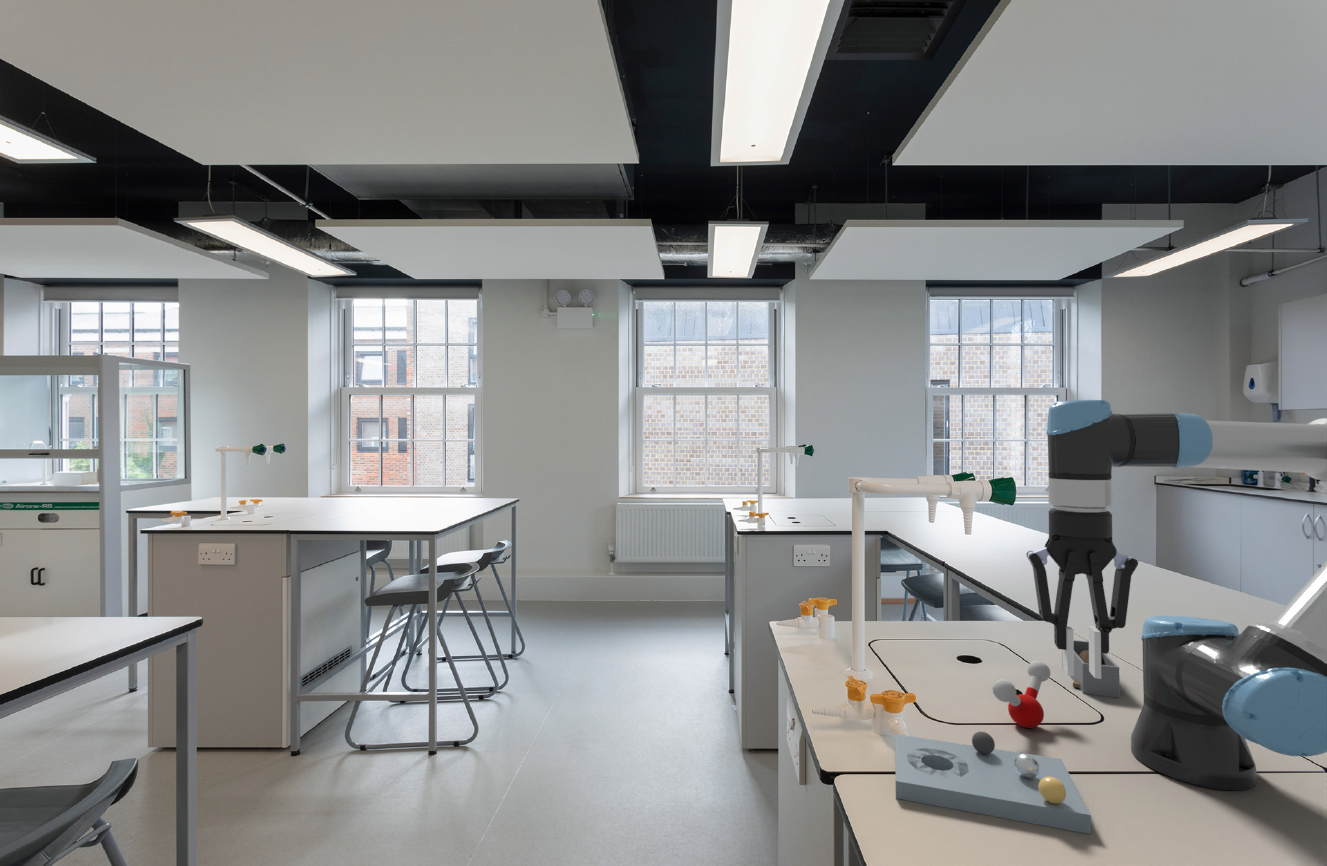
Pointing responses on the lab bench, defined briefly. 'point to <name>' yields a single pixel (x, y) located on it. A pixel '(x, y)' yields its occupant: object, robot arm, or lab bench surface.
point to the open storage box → (1087, 681)
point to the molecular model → (1024, 696)
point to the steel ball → (1026, 766)
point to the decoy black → (983, 742)
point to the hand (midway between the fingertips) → (1081, 673)
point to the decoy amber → (1052, 790)
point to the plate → (984, 783)
